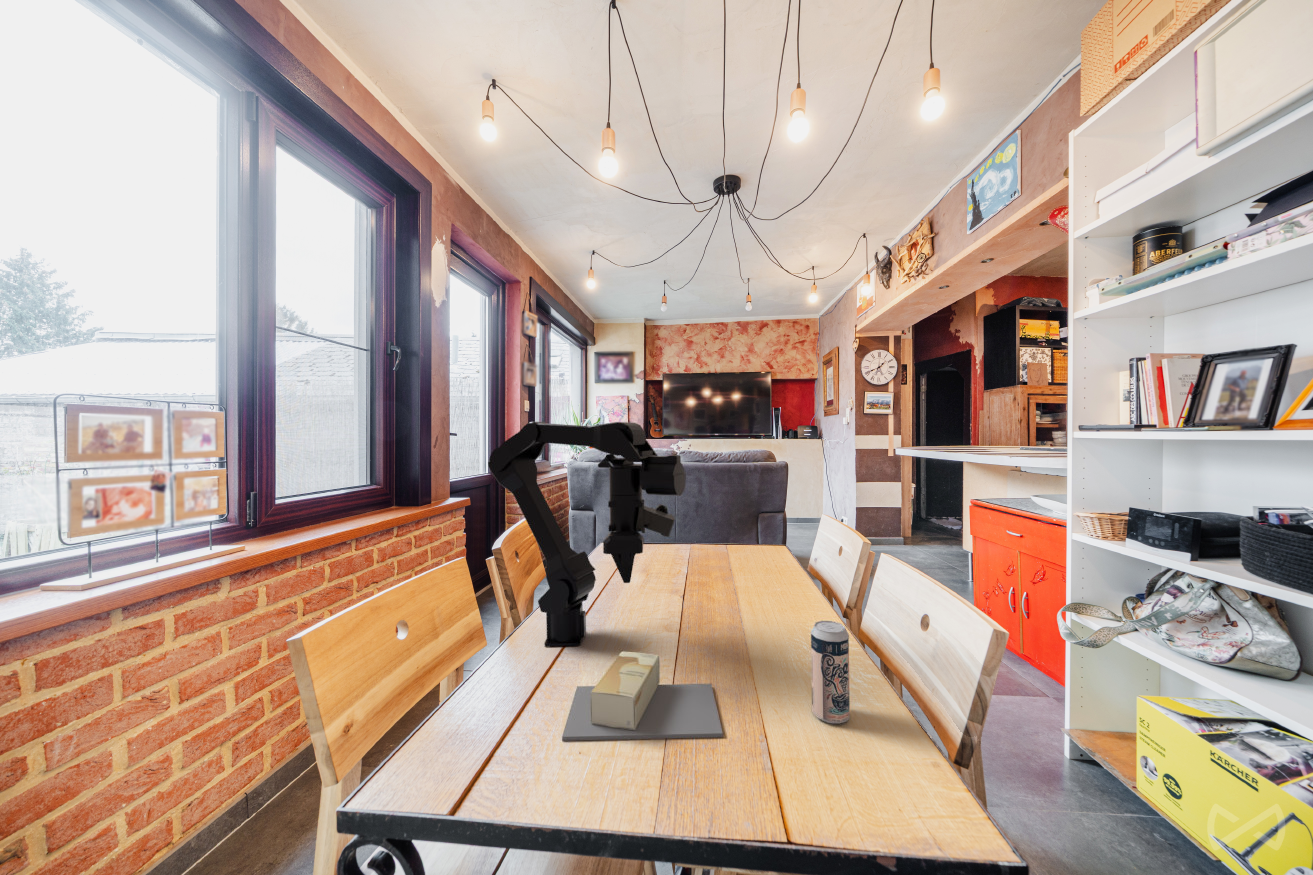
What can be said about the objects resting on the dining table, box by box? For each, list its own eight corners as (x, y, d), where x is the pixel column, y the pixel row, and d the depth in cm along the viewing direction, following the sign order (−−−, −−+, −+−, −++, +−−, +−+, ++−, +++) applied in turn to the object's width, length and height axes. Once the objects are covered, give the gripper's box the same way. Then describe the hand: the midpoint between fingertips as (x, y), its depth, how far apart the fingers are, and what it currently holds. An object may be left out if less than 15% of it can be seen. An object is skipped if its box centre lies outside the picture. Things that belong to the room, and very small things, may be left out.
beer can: (832, 730, 61) (830, 636, 61) (804, 711, 65) (803, 623, 65) (858, 720, 63) (857, 628, 63) (829, 702, 68) (828, 616, 67)
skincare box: (659, 654, 73) (637, 697, 61) (660, 682, 73) (637, 731, 61) (619, 650, 74) (589, 691, 62) (619, 678, 74) (589, 725, 62)
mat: (562, 740, 60) (562, 736, 60) (577, 689, 72) (577, 686, 72) (722, 737, 60) (722, 733, 60) (711, 686, 72) (711, 683, 72)
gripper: (673, 500, 75) (674, 600, 75) (670, 487, 94) (671, 567, 94) (602, 501, 75) (603, 601, 75) (613, 487, 94) (614, 567, 94)
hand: (627, 582), depth 85 cm, fingers closed
